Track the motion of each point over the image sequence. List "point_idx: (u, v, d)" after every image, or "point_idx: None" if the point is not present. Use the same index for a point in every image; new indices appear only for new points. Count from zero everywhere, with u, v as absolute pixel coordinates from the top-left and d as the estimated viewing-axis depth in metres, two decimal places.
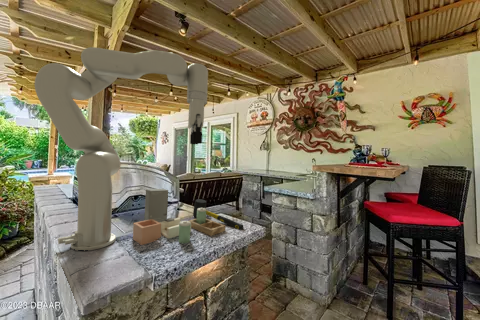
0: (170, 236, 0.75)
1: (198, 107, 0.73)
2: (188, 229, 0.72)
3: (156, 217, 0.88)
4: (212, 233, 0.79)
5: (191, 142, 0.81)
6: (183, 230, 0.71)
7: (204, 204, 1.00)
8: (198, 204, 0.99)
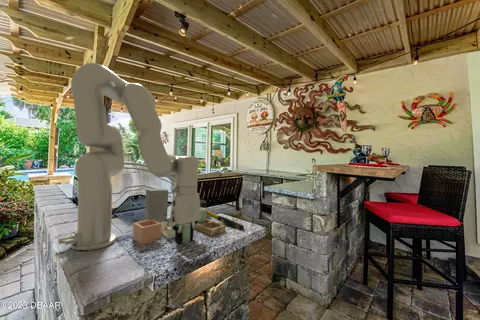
0: (170, 236, 0.75)
1: None
2: (188, 229, 0.72)
3: (156, 217, 0.88)
4: (212, 233, 0.79)
5: None
6: (183, 230, 0.71)
7: (204, 204, 0.99)
8: None
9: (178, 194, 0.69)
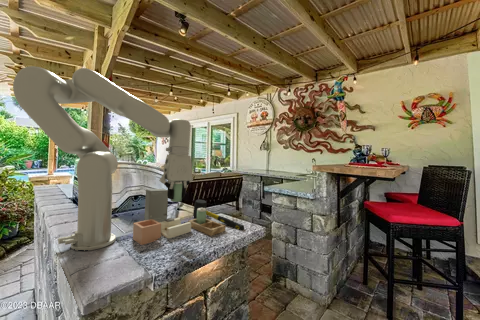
0: (170, 236, 0.75)
1: None
2: (180, 187, 0.78)
3: (156, 217, 0.88)
4: (212, 233, 0.79)
5: None
6: (174, 187, 0.77)
7: (204, 204, 0.99)
8: (198, 205, 0.98)
9: (171, 153, 0.76)
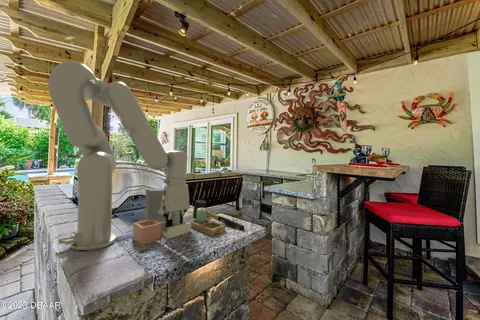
0: (170, 236, 0.75)
1: None
2: (178, 216, 0.80)
3: (156, 217, 0.88)
4: (212, 233, 0.79)
5: None
6: (173, 217, 0.79)
7: (204, 204, 0.99)
8: (198, 205, 0.98)
9: (168, 185, 0.77)
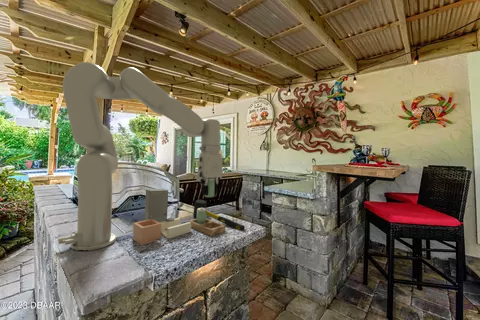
0: (170, 236, 0.75)
1: None
2: (213, 183, 0.83)
3: (156, 217, 0.88)
4: (212, 233, 0.79)
5: None
6: (208, 183, 0.82)
7: (204, 205, 0.99)
8: (198, 205, 0.97)
9: (204, 152, 0.80)
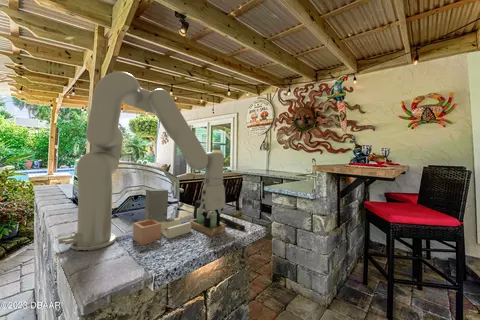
0: (170, 236, 0.75)
1: None
2: (215, 218, 0.83)
3: (156, 217, 0.88)
4: (212, 233, 0.79)
5: None
6: (211, 218, 0.82)
7: None
8: (198, 205, 0.97)
9: (208, 185, 0.81)
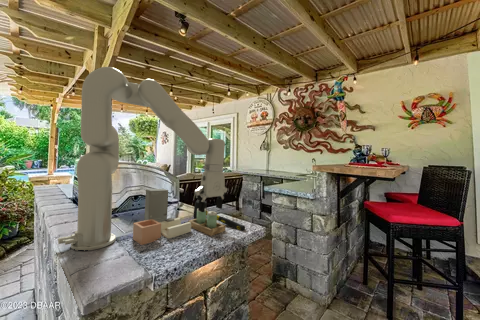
0: (170, 236, 0.75)
1: None
2: (215, 218, 0.83)
3: (156, 217, 0.88)
4: (212, 233, 0.79)
5: None
6: (211, 218, 0.82)
7: (205, 205, 0.98)
8: None
9: (208, 171, 0.80)
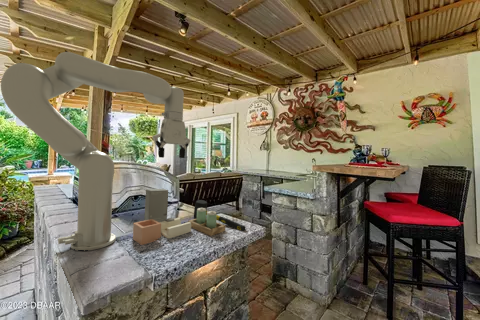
0: (170, 236, 0.75)
1: None
2: (215, 218, 0.83)
3: (156, 217, 0.88)
4: (212, 233, 0.79)
5: None
6: (211, 218, 0.82)
7: (205, 205, 0.98)
8: (198, 205, 0.97)
9: (166, 118, 0.83)
